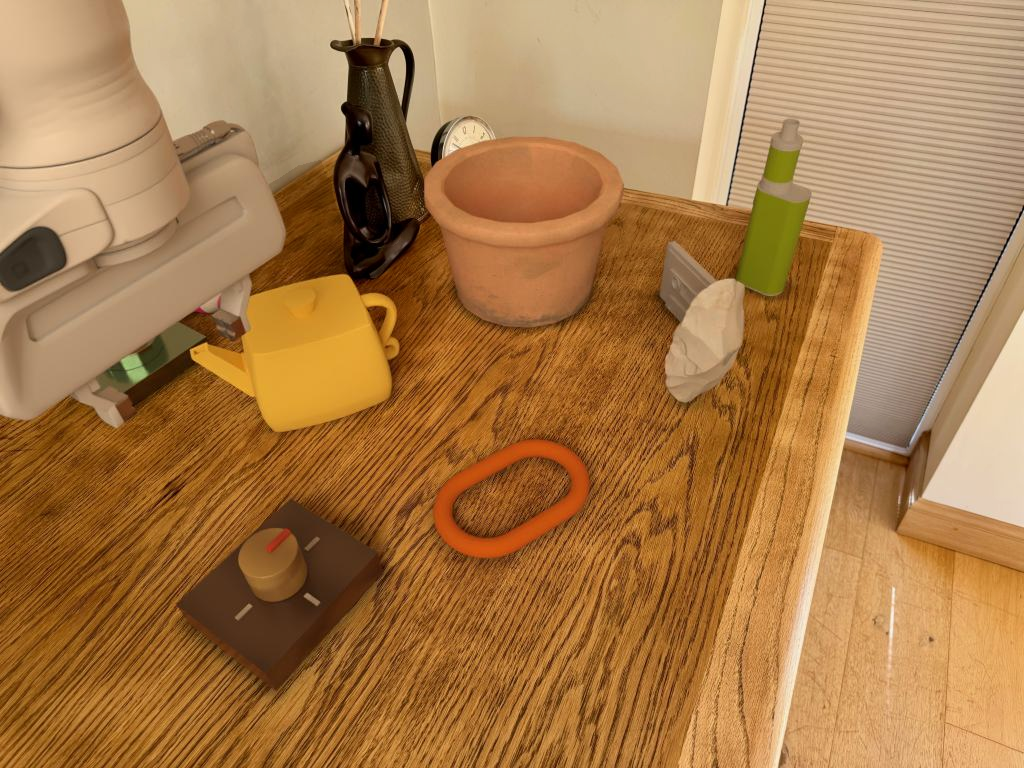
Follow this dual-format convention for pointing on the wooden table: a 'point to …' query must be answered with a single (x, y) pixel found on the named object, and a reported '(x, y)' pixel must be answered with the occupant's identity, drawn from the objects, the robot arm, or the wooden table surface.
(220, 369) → the teapot
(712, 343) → the stone
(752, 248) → the vape
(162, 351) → the lamp switch
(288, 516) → the dimmer panel
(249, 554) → the dimmer knob
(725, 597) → the wooden table surface
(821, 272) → the wooden table surface
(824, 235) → the wooden table surface
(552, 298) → the pottery
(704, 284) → the cassette
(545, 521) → the orange oval ring
